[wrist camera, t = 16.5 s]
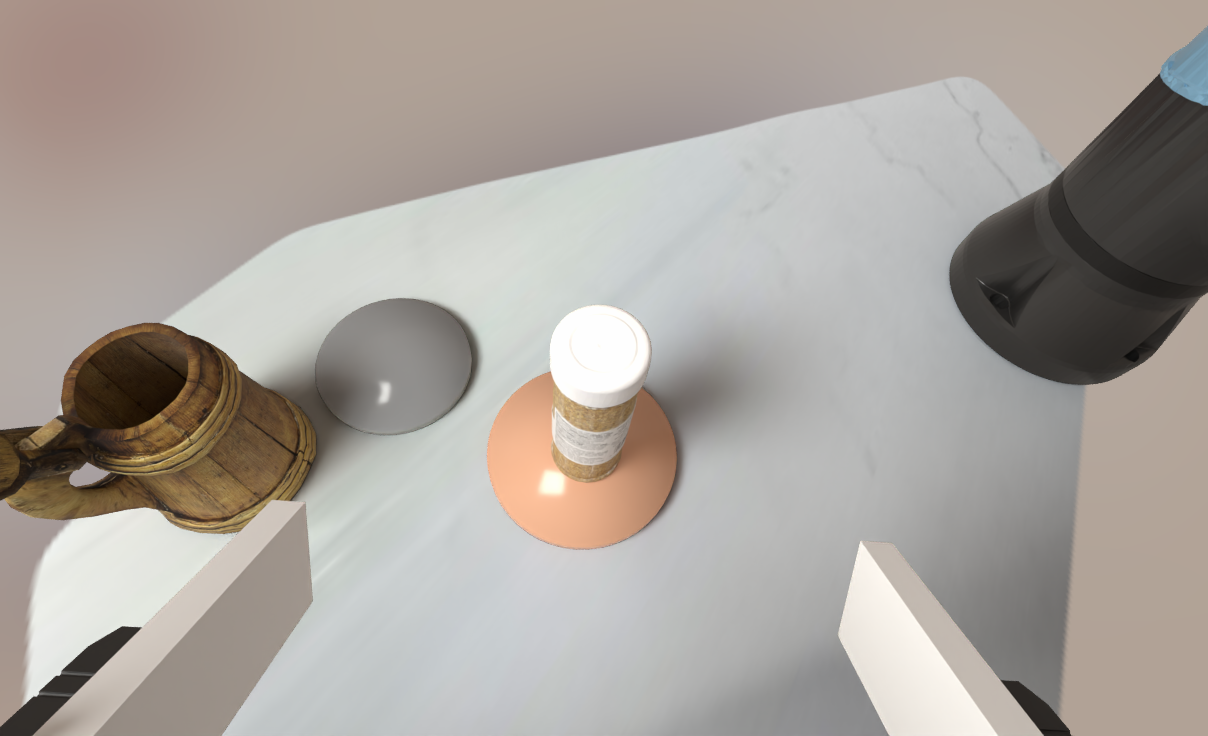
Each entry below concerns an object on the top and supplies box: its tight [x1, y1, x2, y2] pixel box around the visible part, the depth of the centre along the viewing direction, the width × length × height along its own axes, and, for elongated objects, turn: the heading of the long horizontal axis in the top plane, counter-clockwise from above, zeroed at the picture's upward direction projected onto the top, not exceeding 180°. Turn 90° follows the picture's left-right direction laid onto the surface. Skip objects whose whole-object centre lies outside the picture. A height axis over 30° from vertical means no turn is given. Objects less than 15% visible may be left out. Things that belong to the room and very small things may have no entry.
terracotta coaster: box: [487, 372, 677, 550], centre depth 39 cm, size 12×12×1 cm
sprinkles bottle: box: [550, 305, 652, 483], centre depth 33 cm, size 5×5×14 cm
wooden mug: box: [0, 323, 316, 534], centre depth 28 cm, size 9×14×18 cm, turn 147°
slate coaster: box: [315, 298, 472, 435], centre depth 41 cm, size 10×10×1 cm
